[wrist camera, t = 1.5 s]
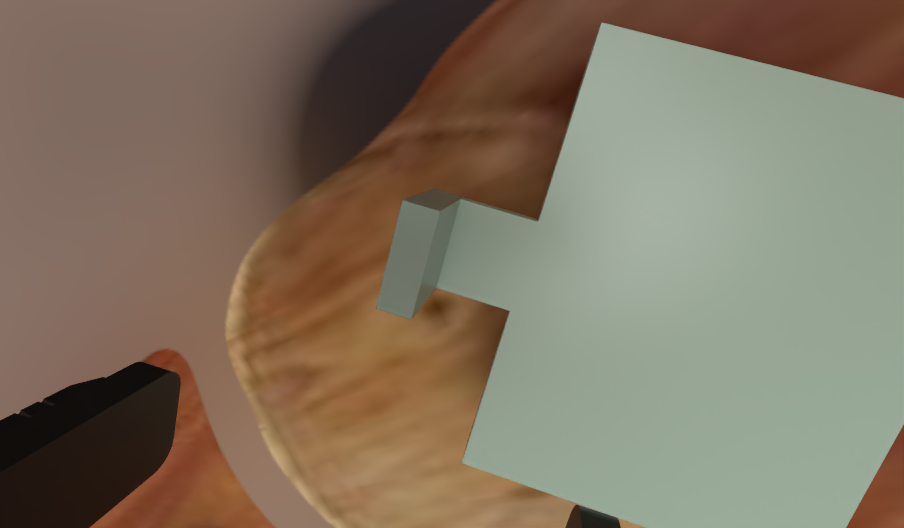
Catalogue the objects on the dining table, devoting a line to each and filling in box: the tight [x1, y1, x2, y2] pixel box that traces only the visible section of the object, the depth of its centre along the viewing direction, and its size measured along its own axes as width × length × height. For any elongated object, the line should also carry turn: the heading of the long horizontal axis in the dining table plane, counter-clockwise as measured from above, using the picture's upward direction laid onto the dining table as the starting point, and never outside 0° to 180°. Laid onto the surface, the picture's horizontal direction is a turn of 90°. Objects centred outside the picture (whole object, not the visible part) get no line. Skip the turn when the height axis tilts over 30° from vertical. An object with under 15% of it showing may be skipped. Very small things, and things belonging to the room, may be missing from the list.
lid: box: [376, 23, 904, 528], centre depth 23 cm, size 22×23×8 cm
